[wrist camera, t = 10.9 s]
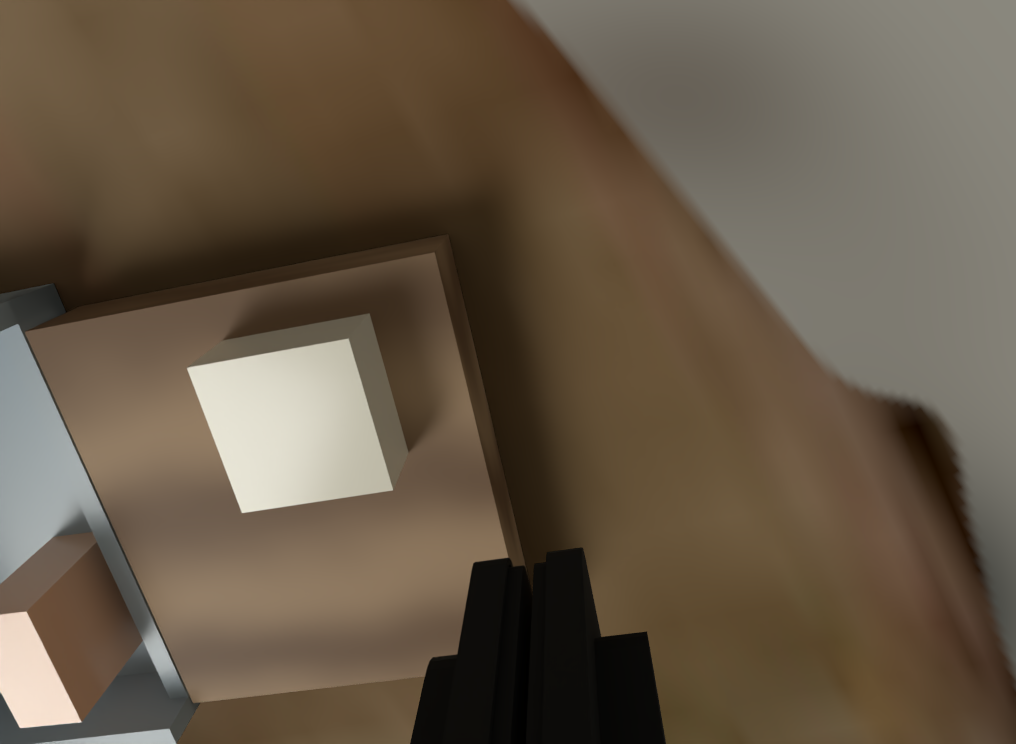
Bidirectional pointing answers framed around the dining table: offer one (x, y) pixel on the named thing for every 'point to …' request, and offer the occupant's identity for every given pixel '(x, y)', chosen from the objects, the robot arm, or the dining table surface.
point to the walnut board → (299, 528)
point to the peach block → (62, 632)
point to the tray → (65, 511)
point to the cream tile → (302, 414)
